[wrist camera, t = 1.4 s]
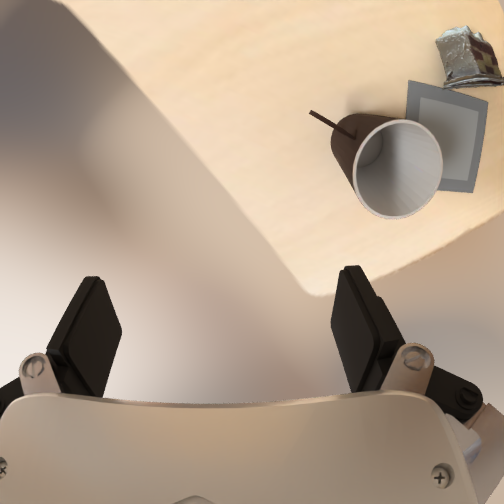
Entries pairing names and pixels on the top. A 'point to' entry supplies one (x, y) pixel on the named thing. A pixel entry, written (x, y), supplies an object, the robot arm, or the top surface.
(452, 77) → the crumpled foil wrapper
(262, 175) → the top surface
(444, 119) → the mat
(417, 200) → the coffee mug
